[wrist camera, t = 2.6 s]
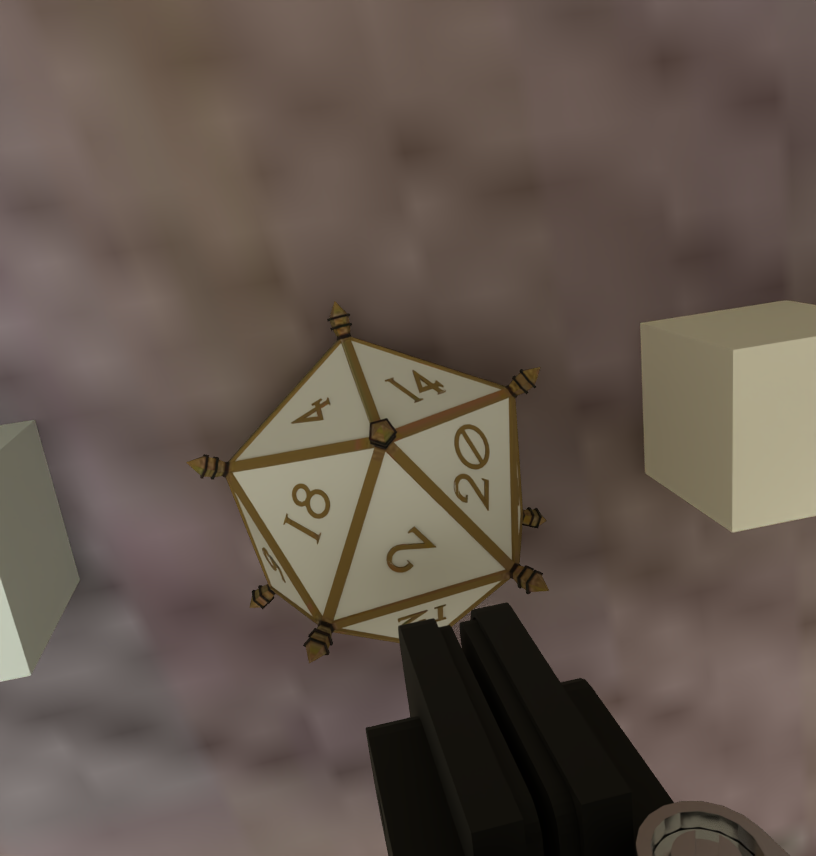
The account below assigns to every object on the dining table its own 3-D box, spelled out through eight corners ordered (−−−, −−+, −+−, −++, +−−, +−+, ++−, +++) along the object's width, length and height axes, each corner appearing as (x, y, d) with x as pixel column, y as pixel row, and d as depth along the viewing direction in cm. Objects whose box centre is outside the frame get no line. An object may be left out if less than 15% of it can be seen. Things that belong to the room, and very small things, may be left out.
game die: (316, 373, 26) (269, 181, 16) (557, 453, 25) (651, 297, 16) (205, 628, 23) (69, 570, 13) (474, 729, 22) (528, 743, 13)
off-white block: (785, 299, 24) (910, 320, 19) (781, 446, 26) (897, 499, 21) (638, 322, 24) (733, 350, 19) (643, 472, 25) (732, 532, 20)
